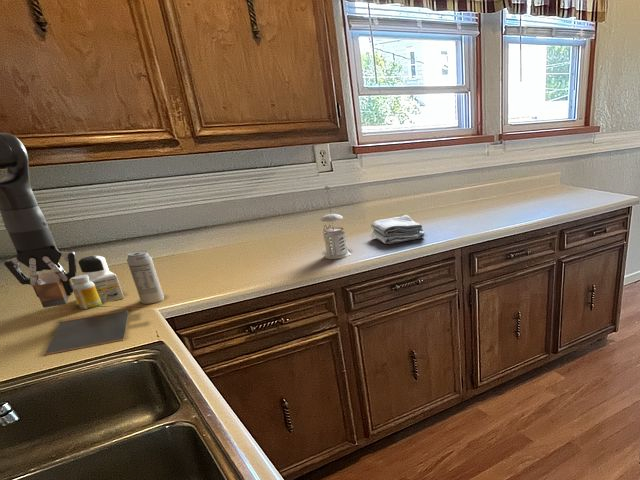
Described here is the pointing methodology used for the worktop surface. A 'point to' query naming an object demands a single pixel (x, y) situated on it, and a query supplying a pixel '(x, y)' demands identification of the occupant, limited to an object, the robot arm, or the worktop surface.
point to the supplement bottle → (85, 292)
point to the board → (88, 332)
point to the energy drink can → (145, 277)
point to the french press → (334, 236)
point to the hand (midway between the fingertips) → (57, 296)
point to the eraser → (51, 290)
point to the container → (101, 278)
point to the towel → (396, 229)
